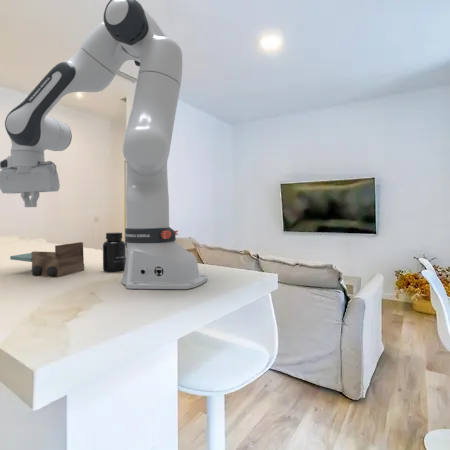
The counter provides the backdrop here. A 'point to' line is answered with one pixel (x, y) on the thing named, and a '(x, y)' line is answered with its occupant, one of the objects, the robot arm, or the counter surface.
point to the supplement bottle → (114, 253)
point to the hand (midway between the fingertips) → (30, 207)
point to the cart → (59, 261)
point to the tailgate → (22, 257)
